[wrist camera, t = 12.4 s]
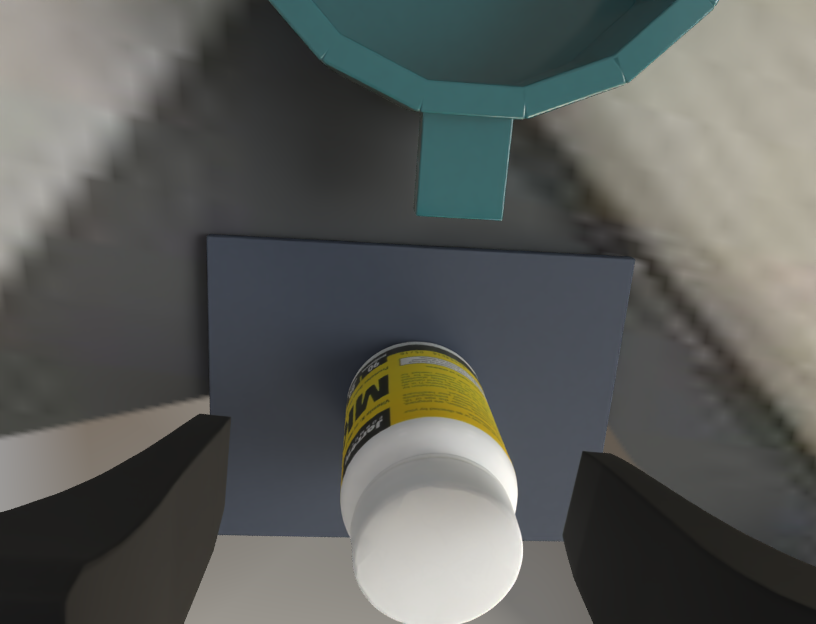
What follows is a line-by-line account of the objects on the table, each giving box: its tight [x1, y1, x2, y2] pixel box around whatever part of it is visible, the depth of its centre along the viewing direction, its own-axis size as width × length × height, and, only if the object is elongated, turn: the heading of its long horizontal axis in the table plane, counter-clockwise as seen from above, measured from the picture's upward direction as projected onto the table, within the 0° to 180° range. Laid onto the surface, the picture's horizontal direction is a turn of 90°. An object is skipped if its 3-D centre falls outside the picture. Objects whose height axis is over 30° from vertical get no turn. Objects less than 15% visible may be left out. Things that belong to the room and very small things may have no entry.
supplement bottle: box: [340, 342, 523, 624], centre depth 19 cm, size 5×5×8 cm
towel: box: [207, 234, 635, 541], centre depth 24 cm, size 14×11×1 cm
